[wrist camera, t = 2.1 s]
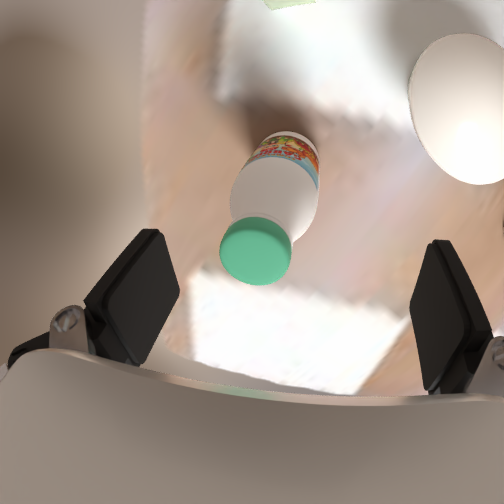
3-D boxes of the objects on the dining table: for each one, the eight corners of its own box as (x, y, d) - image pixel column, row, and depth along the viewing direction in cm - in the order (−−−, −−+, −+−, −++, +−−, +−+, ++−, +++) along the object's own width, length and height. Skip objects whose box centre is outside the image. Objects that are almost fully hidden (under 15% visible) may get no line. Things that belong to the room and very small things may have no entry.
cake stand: (490, 44, 19) (528, 45, 12) (498, 157, 26) (531, 183, 20) (379, 37, 23) (398, 28, 17) (398, 160, 31) (418, 187, 24)
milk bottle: (330, 175, 34) (333, 287, 19) (275, 198, 38) (234, 314, 22) (301, 119, 31) (278, 183, 15) (244, 147, 35) (172, 232, 19)
